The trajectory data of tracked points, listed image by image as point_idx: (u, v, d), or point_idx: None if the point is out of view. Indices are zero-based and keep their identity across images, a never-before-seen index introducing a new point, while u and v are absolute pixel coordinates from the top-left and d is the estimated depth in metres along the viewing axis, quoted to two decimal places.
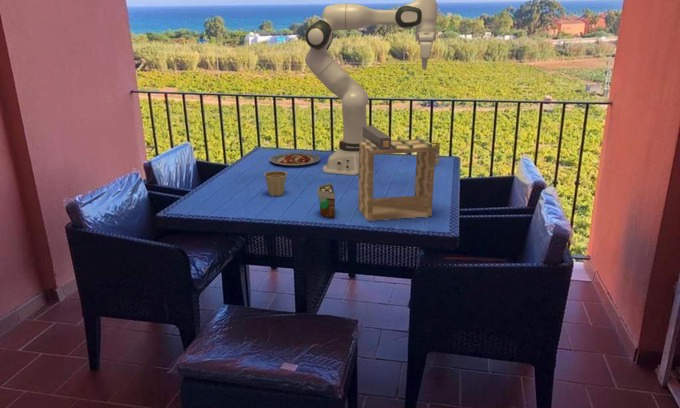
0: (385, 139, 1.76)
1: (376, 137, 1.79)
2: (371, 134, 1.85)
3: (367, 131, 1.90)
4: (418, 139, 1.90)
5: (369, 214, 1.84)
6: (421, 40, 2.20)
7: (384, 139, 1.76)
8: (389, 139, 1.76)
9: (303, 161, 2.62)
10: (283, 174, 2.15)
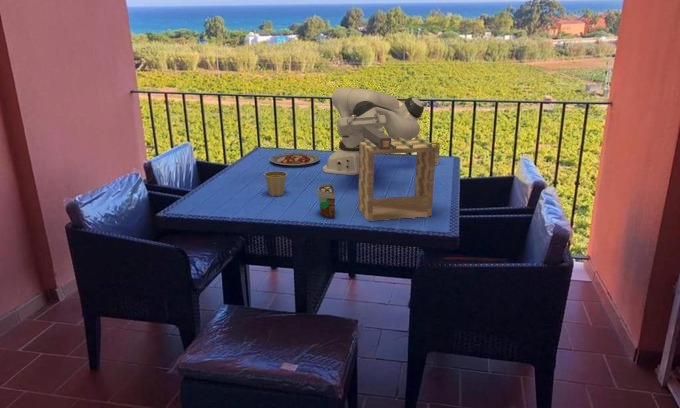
0: (385, 139, 1.76)
1: (376, 137, 1.79)
2: (371, 134, 1.85)
3: (367, 131, 1.90)
4: (418, 139, 1.90)
5: (369, 214, 1.84)
6: (339, 133, 2.13)
7: (384, 139, 1.76)
8: (389, 139, 1.76)
9: (303, 161, 2.62)
10: (283, 174, 2.15)
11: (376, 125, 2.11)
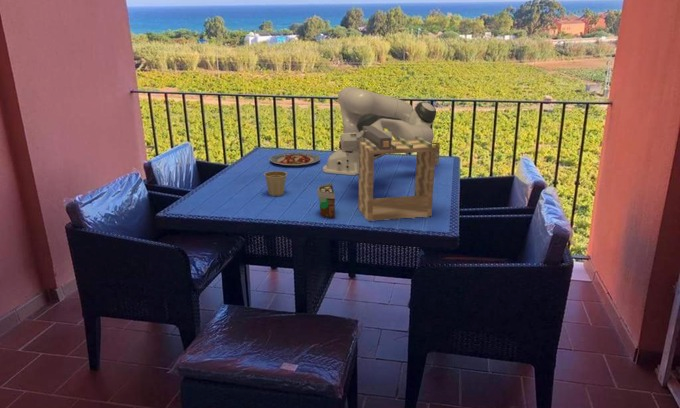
0: (385, 139, 1.76)
1: (376, 137, 1.79)
2: (371, 134, 1.85)
3: (367, 131, 1.90)
4: (418, 139, 1.90)
5: (369, 214, 1.84)
6: (343, 148, 2.03)
7: (384, 139, 1.76)
8: (389, 139, 1.76)
9: (303, 161, 2.62)
10: (283, 174, 2.15)
11: None
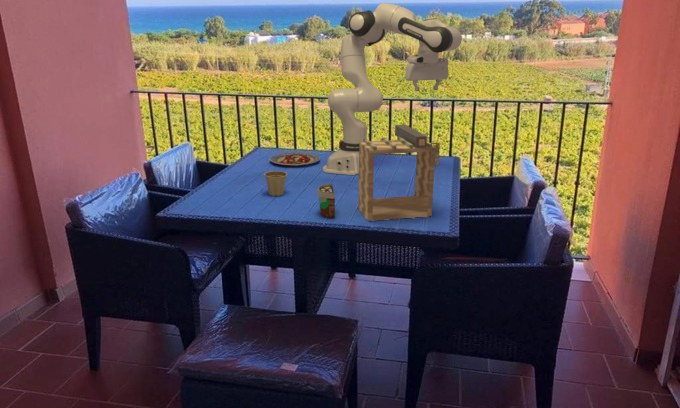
0: (421, 137, 1.79)
1: (411, 135, 1.82)
2: (405, 133, 1.88)
3: (401, 130, 1.93)
4: None
5: (369, 214, 1.84)
6: None
7: (420, 137, 1.78)
8: (425, 137, 1.79)
9: (303, 161, 2.62)
10: (283, 174, 2.15)
11: None
